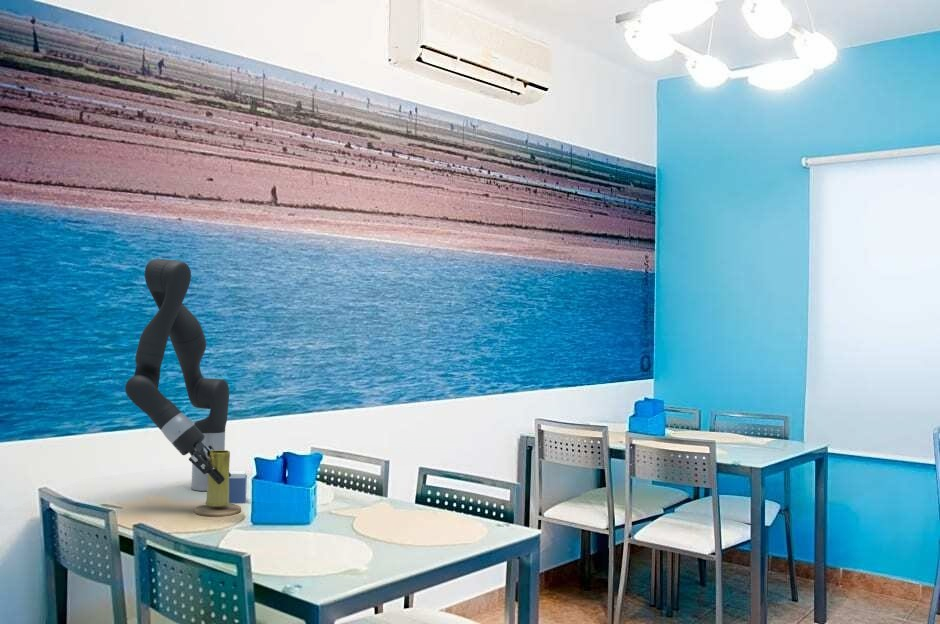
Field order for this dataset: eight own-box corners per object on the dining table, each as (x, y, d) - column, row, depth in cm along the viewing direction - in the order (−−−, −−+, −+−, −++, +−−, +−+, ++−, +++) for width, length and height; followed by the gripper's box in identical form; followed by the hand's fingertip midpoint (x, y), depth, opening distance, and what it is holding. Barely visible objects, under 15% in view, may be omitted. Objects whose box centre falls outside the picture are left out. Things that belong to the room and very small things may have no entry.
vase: (222, 507, 226) (224, 453, 226) (201, 505, 227) (203, 452, 227) (233, 503, 232) (235, 450, 232) (212, 501, 233) (214, 449, 233)
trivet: (202, 505, 236) (202, 502, 236) (246, 507, 236) (246, 503, 236) (188, 515, 224) (188, 512, 224) (234, 517, 224) (234, 513, 224)
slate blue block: (228, 499, 245) (229, 470, 245) (246, 499, 246) (247, 470, 246) (226, 503, 240) (227, 474, 240) (244, 503, 241) (245, 474, 241)
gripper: (184, 427, 223) (228, 475, 223) (201, 421, 237) (242, 465, 237) (163, 447, 223) (207, 495, 223) (181, 439, 237) (222, 484, 237)
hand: (225, 479), depth 230 cm, fingers closed on vase, 5 cm apart
